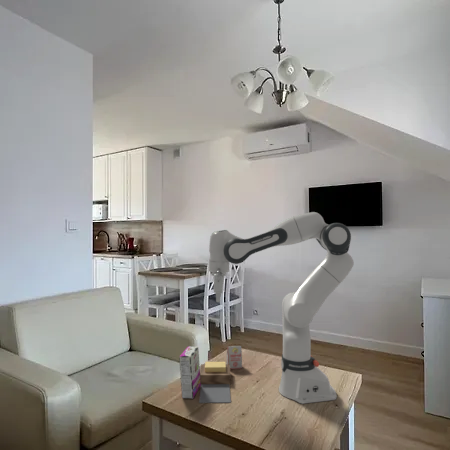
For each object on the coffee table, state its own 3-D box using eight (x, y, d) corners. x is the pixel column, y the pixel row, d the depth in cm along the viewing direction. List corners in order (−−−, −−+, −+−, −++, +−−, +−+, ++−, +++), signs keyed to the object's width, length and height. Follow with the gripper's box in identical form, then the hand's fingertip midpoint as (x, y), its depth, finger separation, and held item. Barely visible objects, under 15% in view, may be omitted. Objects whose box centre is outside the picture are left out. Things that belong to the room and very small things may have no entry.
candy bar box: (189, 385, 136) (187, 345, 137) (201, 385, 135) (199, 346, 136) (180, 398, 125) (178, 355, 126) (193, 399, 124) (190, 356, 125)
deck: (229, 373, 148) (229, 364, 148) (230, 384, 137) (230, 375, 137) (201, 373, 148) (201, 364, 148) (199, 384, 137) (199, 375, 137)
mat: (229, 384, 137) (229, 384, 137) (230, 402, 123) (230, 402, 123) (200, 385, 137) (200, 384, 137) (199, 403, 122) (199, 402, 122)
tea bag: (226, 366, 156) (226, 345, 156) (240, 365, 157) (240, 344, 157) (227, 369, 153) (227, 348, 153) (241, 368, 154) (242, 347, 154)
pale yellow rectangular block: (225, 366, 146) (225, 361, 146) (225, 371, 140) (225, 367, 140) (205, 366, 146) (205, 361, 146) (204, 372, 140) (204, 367, 140)
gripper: (226, 270, 130) (225, 305, 130) (226, 264, 151) (225, 294, 151) (210, 270, 131) (209, 304, 130) (212, 264, 151) (212, 294, 151)
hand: (218, 299), depth 141 cm, fingers open, 8 cm apart
